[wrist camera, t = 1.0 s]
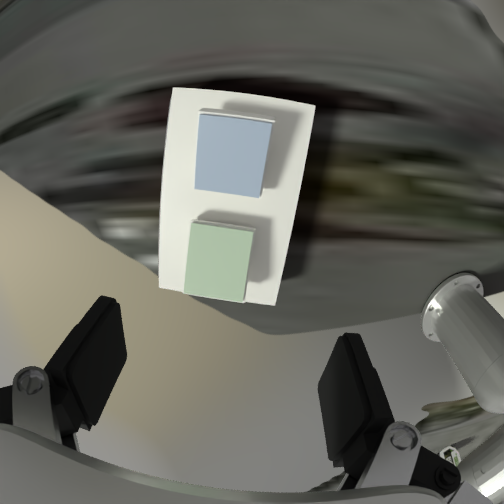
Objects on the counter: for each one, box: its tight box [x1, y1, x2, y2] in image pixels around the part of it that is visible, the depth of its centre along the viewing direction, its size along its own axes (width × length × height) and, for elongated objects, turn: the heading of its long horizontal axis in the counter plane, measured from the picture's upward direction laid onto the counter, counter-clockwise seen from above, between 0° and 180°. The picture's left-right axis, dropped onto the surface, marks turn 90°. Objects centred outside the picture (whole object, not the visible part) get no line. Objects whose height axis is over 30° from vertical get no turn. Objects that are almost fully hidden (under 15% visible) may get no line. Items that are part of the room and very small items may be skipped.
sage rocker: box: [182, 219, 256, 303], centre depth 27 cm, size 6×7×2 cm
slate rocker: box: [193, 108, 275, 198], centre depth 23 cm, size 6×7×2 cm
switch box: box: [158, 88, 316, 306], centre depth 29 cm, size 13×21×6 cm, turn 171°
